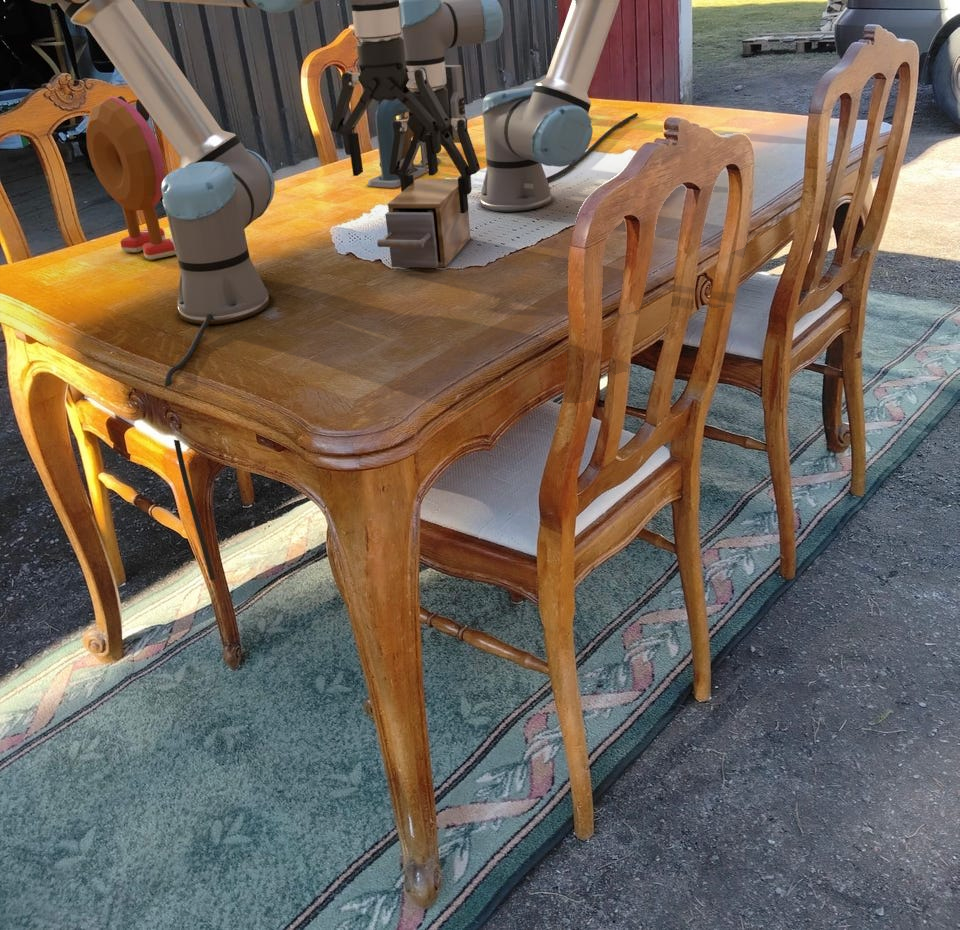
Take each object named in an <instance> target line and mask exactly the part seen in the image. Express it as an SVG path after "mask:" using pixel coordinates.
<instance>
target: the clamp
mask: <svg viewBox="0 0 960 930" xmlns="http://www.w3.org/2000/svg"><path fill="white" fill-rule="evenodd" d="M445 68H446V80H447V83H446V84H445V85H444V87H446V89H447V90H448V101H449V113H450V115H451V117H452V118H457V119H461V118H463V117H465V118H467V117H466V106H465V105H466V104H465V94H464V93H465V91H464V81H463V80H464V79H463V70H462V69H463V67H462V65H461V64H445ZM406 113H408V108H407V107H406V105H405V104H404V103H402V102H400V101H399V99H398V98H397V99H395V100H392V101H389V100H385V99H384V100H381V101H380V103H379V105H378V106H377V109H376V111H375V116H374V119H375V129H376V130H375V131H376V138H377V147H378V155H379V167H380V170H381V171H380V172H381V174H380V175H378V176H375V177H374V178H371V179H369V180H368V182H367V186H369V187H375V188H389V189H394V188H398V187H401V183H400V178H399V176H397V175H395V174H393V175H392V174H390V172H389V169H390V162H391V155H392V148H393V140H394V130H393V122H394V121H395V118H396V117H398V116H400V119H402V120H405V119H408V116H406V117H405V115H406ZM448 132H449V133H450V135H451V137H452V139H453V142H454V143H455V144H461V143H460V140H459V137H458V133H457V131H456V130H455V129H454V126H453V125H451V127H450V128H449V130H448ZM413 136H414V133H413V132H412V131H411V129H410V128H409V127H408V126H407V129H406V131H405V134H404V142H403V149H402V156H401V162H400V167H402V164H403V162H404V159H405V157H406V154H407V152H408V150H409V147H410V145H411V141H412V138H413ZM419 149H420V157H421V160H420V164H416V163H414V161H413V164H412V166H411V169H410V171H409V172H410V173H409V174H408V175H413V180H415V179H418V178H419V177H421V176H422V175H423V176H424V175H426V174H427V173H429V170H428V160H427V150H426V142H422V143H421V144H420V147H419ZM439 163H441V159H440V158H439V157H437V164H439Z"/></svg>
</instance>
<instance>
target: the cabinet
mask: <svg viewBox="0 0 960 930" xmlns="http://www.w3.org/2000/svg"><path fill="white" fill-rule="evenodd" d="M387 208H388V209H387V210H388V212H394V211H395V210H396V209H397V208H436V218H437V228H438V239H439V249H440V258H439V259H438V267H437V268H446V267H447V266H448V265H449V264H450V263H451V261H452V260H453V259H454V258H455V257H456V256H457V255H458V253H460V251H461V250H462V249H463V248H464V246H466V245H467V244H468V242H469V241H470V240H471V227H470V215H469V209H468V210H467V211H466V212H465V213H461V210H460V198H459V187H458V178H416V180H414V182H413V183H412V184H411V185H410V186H408V187H407V188H406V189H405V190H404V191H402V192H400V193H398V194H397V195H396V196H395V197H394V198H393V199H391V200H390V201H389V202H388V203H387Z"/></svg>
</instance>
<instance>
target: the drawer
mask: <svg viewBox="0 0 960 930" xmlns="http://www.w3.org/2000/svg"><path fill="white" fill-rule="evenodd" d="M384 216H385V223H386V231H387V234H386V235H385V236H384V237H383V238H379V239H377V243H376V244H377V247H378V248H389V254H390V262H391V267H392V268H425V269H426V268H427V269H437V268H439V267H438V259H439V258H440V249H439V239H438V228H437V218H436V208H397V209H396V210H395V211H394V212H389V211H388V212H387V211H386V213H385V215H384Z"/></svg>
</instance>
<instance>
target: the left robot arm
mask: <svg viewBox="0 0 960 930" xmlns="http://www.w3.org/2000/svg"><path fill="white" fill-rule="evenodd" d="M148 1H150V2H162V3H163V2H165V3H178V4H179V3H180V4H194V5H207V6H223V7H236V8H238V7H239V8H248V9H249V8H250V9H257V10H258V9H259V10H262V11H264V12H266V13H269V14H288V13H290V12H293V11H294V10H296V9H298V8H300V7H302V6H305V5H309V4H311V3H313V2H319V1H321V0H148ZM31 2H34V3H36V4H37V3H38V4H43V5H51V4H52V5H53V4H58V6H59V7H60V8H61V10H62V11H63V12H64V14H65V15H66V17H67V18H68V19H69V20H70V23H71V24H73V25H76V26H77V25H78V26H81V27H83V28H84V27H85V28H86V29H87V30H88V31H89V32H90V34H91V36H92V37H93V38H94V39H95V41H96V42H97V44H98V45H99V47H100V48H101V50H102V51H103V52H104V53H105V55H106V56H107V57H108V59H109V60H110V62H111V63H112V64H113V66H114V67H115V69H116V70H117V72H118V73H119V74H120V76H121V77H122V78H123V80H124V81H125V83H126V84H127V86H128V87H129V88H130V89H131V91H132V92H133V94H134V95H135V97H136V98H137V100H138V99H139V101H140V102H141V103H142V105H143V106H144V107H145V109H146V110H147V112H148V113H149V117H151V118H152V119H151V120H153V122H154V123H155V124H156V125H157V128H159V130H160V131H161V133H162V134H163V135H164V137H165V138H166V140H167V141H168V142H169V144H170V145H171V147H172V148H173V150H174V151H175V152H176V154H177V155H178V156H179V159H180V162H179V167H178V168H175V169H174V170H172V171H170V172H169V173H167V175H166V176H165V178H164V180H163V182H162V186H161V190H162V205H163V209H164V211H165V214H166V218H167V222H168V226H169V230H170V231H169V232H170V234H171V238H172V239H173V243H174V247H175V251H176V255H175V256H176V258H177V262H178V266H179V283H178V294H177V310H178V314H179V318H180V319H182V320H183V321H184V322H186V323H189V324H193V325H200V328H199V330H198V331H197V334H196V335H195V338H194V339H193V341H192V342H191V344H190V347H189V349H188V350H187V352H186V353H185V355H184V356H183V357H182V358H181V360H180V361H179V362H178V363H177V364H175V365H173V366H171V367H170V368H169V369H168V370H167V372H166V375H165V379H164V387H165V388H167V387H170V386H171V382H172V377H173V375H174V374H175V372H177V371H180V369H183V367H185V366H186V364H187V363H188V362H189V360H190V359H191V358H192V356H193V355H194V353H195V351H196V349H197V346H198V345H199V343H200V341H201V339H202V338H203V335H204V334H205V332H206V330H207V328H208V327H209V326H210V325H222V324H230V323H233V322H239V321H241V320H245V319H248V318H251V317H253V316H256V315H258V314H260V312H263V311H264V310H265V309H266V308H267V307H268V306H269V305H270V296H269V292H268V290H270V289H269V288H267V285H266V284H265V283H264V282H263V280H262V278H261V276H260V274H259V272H258V270H257V269H256V267H255V265H254V264H253V262H252V260H251V257H250V251H249V246H248V241H247V236H246V232H245V229H246V228H247V227H249V226H250V225H251V224H252V223H253V222H255V221H256V220H258V218H261V217H262V216H263V215H264V214H265V212H266V211H267V209H268V208H269V206H270V204H271V203H272V201H273V199H274V195H275V187H276V185H275V177H274V174H273V171H272V169H271V166H270V165H269V163H268V162H267V161H266V160H265V158H263V157H262V156H261V154H259V153H257V152H255V151H253V150H250V149H248V148H246V147H245V146H244V144H243V143H242V142H241V140H240V139H239V137H238V136H237V134H235V133H234V132H229V131H226V130H223V129H222V128H221V127H220V125H219V124H218V122H217V121H216V119H215V118H214V117H213V115H212V113H211V112H210V111H209V109H208V107H207V106H206V104H205V103H204V102H203V100H202V99H201V97H200V96H199V94H197V92H196V91H195V89H194V88H193V86H192V85H191V83H190V82H189V80H188V78H186V76H185V75H184V73H183V72H182V70H181V69H180V68H179V66H178V64H177V63H176V62H175V60H174V59H173V57H172V56H171V54H170V53H169V51H168V50H167V49H166V47H165V46H164V44H163V43H162V41H161V40H160V38H159V37H158V36H157V34H156V33H155V31H154V30H153V28H152V27H151V25H150V24H149V22H148V21H147V20H146V18H145V17H144V15H143V14H142V12H141V11H140V10H139V8H138V6H137V5H136V4H135V2H134V0H31ZM350 6H351V14H352V23H353V31H354V37H355V38H356V39H359V40H358V41H357V42H356V54H357V61H358V65H359V72H354V71H353V70H347V71H345V72H343V73H342V74H341V90H340V94H339V96H338V100H337V104H336V106H335V107H336V108H335V110H334V114H333V118H332V121H331V124H330V131H331V132H332V133H338V134H340V135H341V136H342V140H343V147H344V153H345V155H346V156H350V162H351V169H352V176H353V177H358V176H359V175H361V174H363V173H364V168H363V160H362V153H361V146H360V137H359V133H358V132H355V128H356V127H357V125H358V123H359V122H360V120H361V118H362V117H363V116H364V114H365V112H366V110H367V109H368V107H369V106H370V105H371V102H373V100H374V101H375V102H382V101H383V100H384V99H385V100H389V101H392V100H395V99H397V98H398V99H399V101H400V102H402V103H404V104H405V105H406V107H407V108H408V109H409V110H410V111H411V112H412V113H413V114H414V116H415V117H416V118H417V119H418V120H419V121H420V122H421V123H422V125H423V126H424V127H425V128H426V129H427V130H428V131H429V133H427V134H426V135H425V141H426V150H427V160H428V164H427V166H428V169H427V170H428V171H429V172H428V176H434V175H436V174H437V173H438V172H439V166H438V165H439V163H437V158H438V154H439V153H441V151H442V145H441V139H440V131H441V130H444V129H446V128H447V127H448V126H449V125H450V120H449V119H448V117H447V115H446V113H445V111H444V109H443V108H442V106H441V104H440V102H439V100H438V99H437V97H436V95H435V93H434V91H433V90H432V88H431V86H430V84H429V82H428V78H427V73H426V69H425V68H420V69H418V70H414V71H408V69H407V67H406V59H405V49H404V40H403V39H402V37H400V34H401V33H402V23H401V13H400V6H399V0H350ZM409 79H411V80H412V81H413V83H414V84H415V85H417V88H418V90H419V92H420V94H421V95H422V97H423V99H424V101H425V103H426V104H427V106H428V108H429V110H430V112H431V113H432V115H433V117H434V118H433V117H432V116H431V115H430V114H429V112H428V111H427V110H426V109H425V108H424V107H423V106H422V105H421V103H420V102H419V101H418V100H417V99H416V98H415V97H414V95H413V93H412V92H411V90H410V89H409V88H408V87H407V86H406V85H407V83H408V81H409ZM358 82H359V83H360V85H361V86H362V87H363V88H364V90H363V92H362V94H361V96H360V97H359V100H358V102H357V104H355V106H354V108H353V110H352V111H351V113H350V115H349V117H348V118H347V113H348V110H349V107H350V103H351V101H352V97H353V94H354V90H355V87H356V86H357V85H358ZM346 118H347V120H346ZM345 120H346V122H345ZM267 289H268V290H267ZM173 443H174V448H175V451H176V452H175V454H176V456H177V462H178V466H179V470H180V475H181V478H182V482H183V486H184V490H185V494H186V498H187V501H188V505H189V508H190V512H191V515H192V516H191V517H192V519H193V522H194V525H195V529H196V533H197V537H198V539H199V543H200V546H201V551H202V553H203V557H204V561H205V564H206V565H205V566H206V569H207V573H208V577H209V580H210V581H212V582H213V581H215V580H216V576H215V572H214V569H213V564H212V561H211V557H210V553H209V549H208V546H207V542H206V538H205V534H204V532H203V531H204V530H203V528H202V525H201V521H200V518H199V514H198V511H197V507H196V503H195V500H194V495H193V492H192V488H191V484H190V480H189V477H188V472H187V468H186V464H185V460H184V456H183V451H182V445H181V442H180V440H179V439H173Z"/></svg>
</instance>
